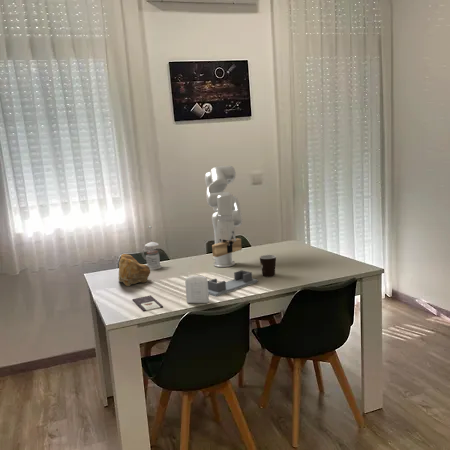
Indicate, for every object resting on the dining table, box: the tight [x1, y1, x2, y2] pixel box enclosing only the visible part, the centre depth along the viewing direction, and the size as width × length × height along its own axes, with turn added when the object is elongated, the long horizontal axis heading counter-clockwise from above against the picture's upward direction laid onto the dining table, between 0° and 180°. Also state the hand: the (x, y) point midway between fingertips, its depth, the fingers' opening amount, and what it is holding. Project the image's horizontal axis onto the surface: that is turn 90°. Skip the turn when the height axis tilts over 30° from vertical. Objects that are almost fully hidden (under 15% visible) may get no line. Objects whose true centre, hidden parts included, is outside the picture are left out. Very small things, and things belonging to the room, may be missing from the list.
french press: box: [141, 225, 163, 271], centre depth 270 cm, size 10×12×25 cm
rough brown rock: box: [118, 253, 151, 287], centre depth 243 cm, size 23×17×15 cm
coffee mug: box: [259, 254, 277, 278], centre depth 241 cm, size 12×9×10 cm
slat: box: [211, 237, 243, 257], centre depth 243 cm, size 3×18×6 cm, turn 133°
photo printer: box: [184, 274, 210, 304], centre depth 206 cm, size 10×4×12 cm, turn 81°
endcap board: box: [207, 269, 259, 297], centre depth 225 cm, size 10×28×5 cm, turn 133°
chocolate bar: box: [132, 295, 164, 312], centre depth 209 cm, size 9×1×18 cm
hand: (227, 251), depth 243 cm, fingers closed on slat, 3 cm apart
